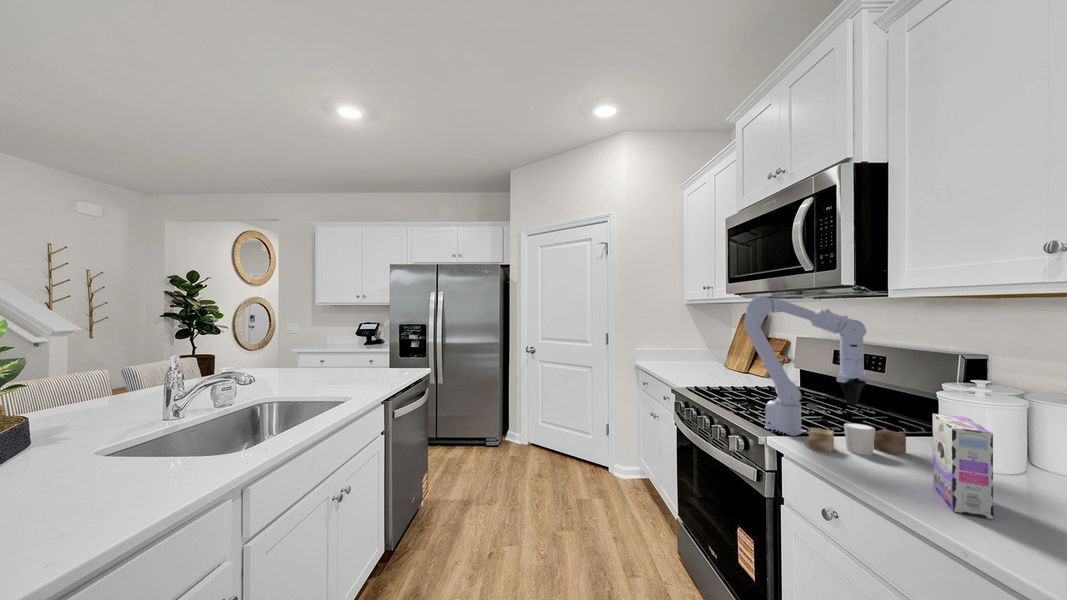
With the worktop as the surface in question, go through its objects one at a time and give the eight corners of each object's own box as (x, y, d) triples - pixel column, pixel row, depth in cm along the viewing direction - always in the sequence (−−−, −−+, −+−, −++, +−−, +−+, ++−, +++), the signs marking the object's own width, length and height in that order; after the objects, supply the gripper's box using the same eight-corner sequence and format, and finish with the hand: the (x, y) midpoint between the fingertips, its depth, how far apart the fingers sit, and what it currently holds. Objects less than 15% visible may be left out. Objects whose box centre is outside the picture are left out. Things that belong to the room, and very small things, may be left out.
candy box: (995, 521, 78) (994, 432, 78) (952, 512, 81) (951, 427, 81) (969, 492, 89) (968, 416, 89) (932, 486, 92) (931, 412, 93)
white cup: (882, 456, 111) (882, 429, 111) (856, 456, 111) (855, 429, 111) (862, 447, 118) (862, 422, 118) (837, 447, 118) (837, 422, 118)
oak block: (809, 449, 116) (808, 431, 116) (812, 444, 120) (812, 427, 120) (830, 453, 113) (830, 435, 113) (833, 448, 117) (833, 431, 117)
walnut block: (873, 449, 116) (873, 431, 116) (884, 447, 118) (884, 429, 118) (894, 455, 112) (894, 436, 112) (905, 452, 114) (905, 434, 114)
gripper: (856, 362, 118) (856, 410, 118) (878, 358, 126) (878, 403, 125) (828, 359, 124) (828, 405, 124) (850, 356, 132) (851, 399, 132)
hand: (852, 404), depth 125 cm, fingers closed
